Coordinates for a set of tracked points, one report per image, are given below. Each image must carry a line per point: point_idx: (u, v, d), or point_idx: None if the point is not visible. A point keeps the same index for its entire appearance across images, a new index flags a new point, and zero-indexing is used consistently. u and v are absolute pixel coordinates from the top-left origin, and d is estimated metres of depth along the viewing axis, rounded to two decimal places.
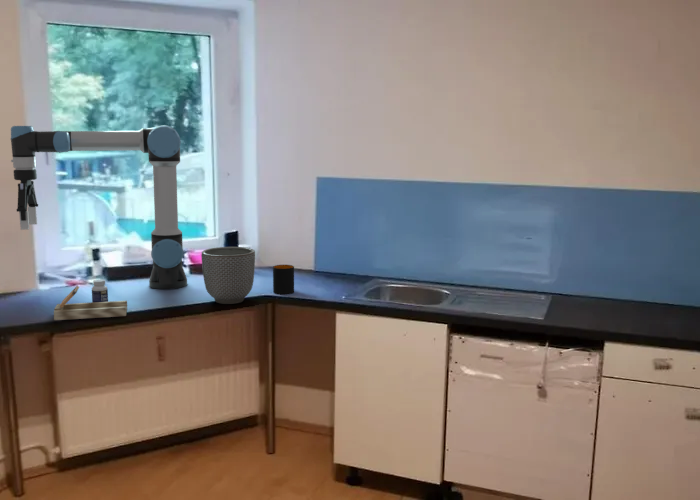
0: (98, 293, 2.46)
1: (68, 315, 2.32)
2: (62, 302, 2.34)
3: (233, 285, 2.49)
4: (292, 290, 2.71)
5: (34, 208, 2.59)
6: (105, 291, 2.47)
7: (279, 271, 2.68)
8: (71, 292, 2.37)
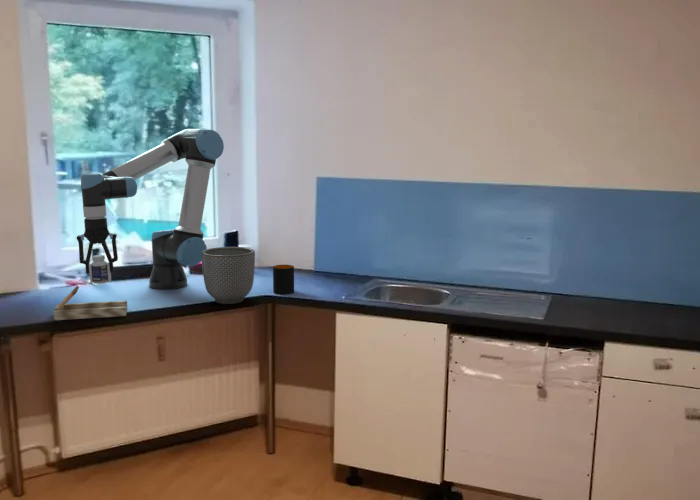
0: (98, 268, 2.45)
1: (68, 315, 2.32)
2: (62, 302, 2.34)
3: (233, 285, 2.49)
4: (292, 290, 2.71)
5: (107, 265, 2.47)
6: (105, 266, 2.46)
7: (279, 271, 2.68)
8: (71, 292, 2.37)
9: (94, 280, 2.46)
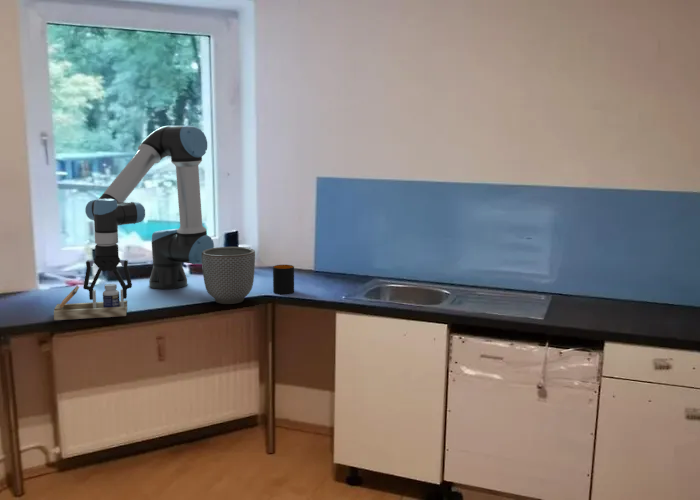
0: (110, 298, 2.37)
1: (68, 315, 2.32)
2: (62, 302, 2.34)
3: (233, 285, 2.49)
4: (292, 290, 2.71)
5: None
6: (117, 296, 2.39)
7: (279, 271, 2.68)
8: (71, 292, 2.37)
9: None
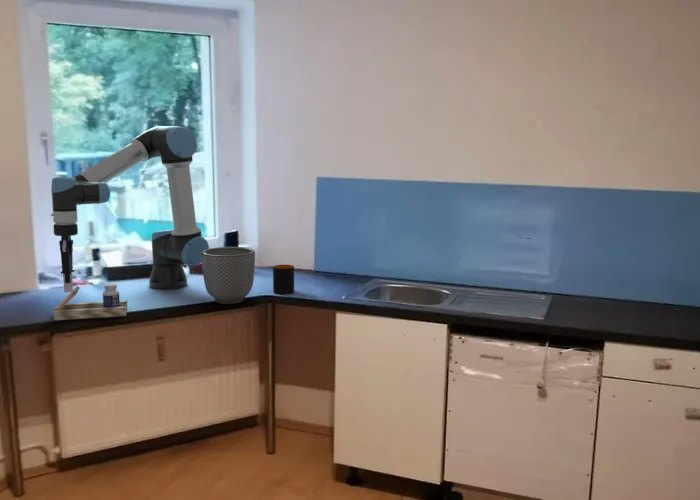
0: (110, 298, 2.37)
1: (68, 315, 2.32)
2: (62, 302, 2.34)
3: (233, 285, 2.49)
4: (292, 290, 2.71)
5: None
6: (117, 296, 2.39)
7: (279, 271, 2.68)
8: (72, 292, 2.37)
9: None
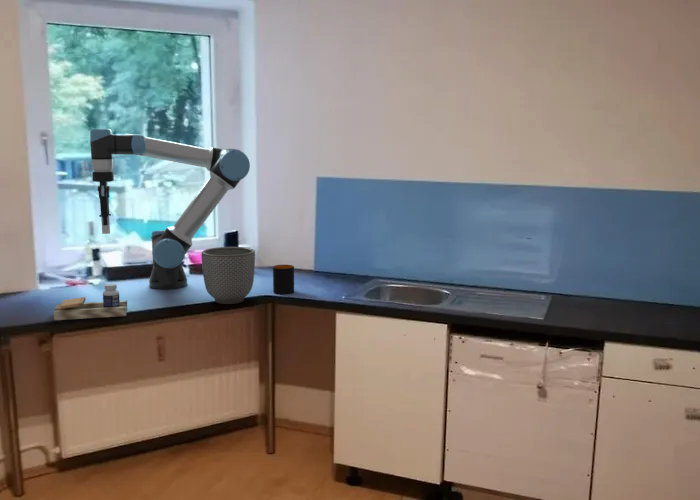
0: (110, 298, 2.37)
1: (68, 315, 2.32)
2: (64, 304, 2.34)
3: (233, 285, 2.49)
4: (292, 290, 2.71)
5: None
6: (117, 296, 2.39)
7: (279, 271, 2.68)
8: (77, 300, 2.38)
9: None
